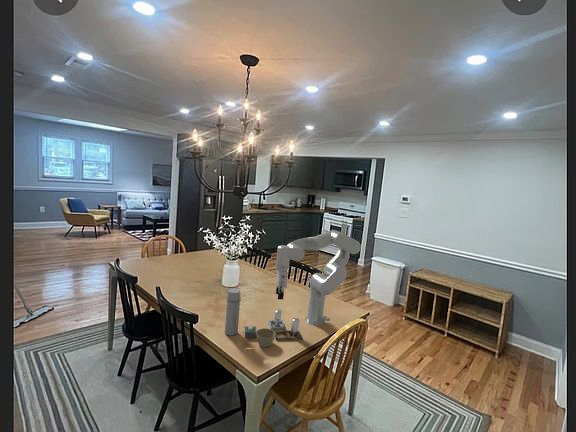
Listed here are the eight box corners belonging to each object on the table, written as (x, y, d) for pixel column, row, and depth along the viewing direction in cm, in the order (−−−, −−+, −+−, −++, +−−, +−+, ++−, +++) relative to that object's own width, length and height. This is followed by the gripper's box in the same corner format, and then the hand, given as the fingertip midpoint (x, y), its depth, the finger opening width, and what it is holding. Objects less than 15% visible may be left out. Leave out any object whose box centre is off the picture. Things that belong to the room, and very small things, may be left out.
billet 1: (279, 325, 184) (281, 309, 182) (280, 328, 180) (282, 312, 178) (272, 325, 183) (274, 309, 181) (273, 328, 179) (275, 312, 177)
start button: (253, 331, 171) (253, 326, 171) (253, 334, 169) (253, 329, 168) (247, 331, 171) (248, 326, 170) (247, 334, 168) (248, 329, 167)
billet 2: (296, 334, 174) (298, 317, 172) (298, 338, 170) (300, 321, 169) (289, 334, 173) (291, 317, 172) (291, 338, 169) (292, 321, 168)
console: (255, 333, 173) (255, 326, 173) (256, 338, 168) (256, 332, 167) (244, 333, 172) (245, 326, 172) (245, 339, 166) (245, 332, 166)
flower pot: (269, 353, 156) (270, 340, 155) (251, 347, 159) (252, 334, 158) (277, 343, 165) (278, 331, 164) (260, 338, 168) (261, 326, 167)
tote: (282, 324, 186) (282, 320, 186) (284, 331, 178) (284, 327, 178) (268, 324, 184) (269, 320, 184) (270, 331, 177) (270, 327, 176)
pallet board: (298, 334, 176) (299, 330, 176) (301, 341, 169) (301, 337, 169) (273, 335, 173) (274, 330, 173) (275, 342, 166) (276, 337, 166)
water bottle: (221, 331, 172) (224, 289, 168) (234, 328, 176) (237, 286, 173) (229, 339, 164) (232, 295, 161) (242, 335, 169) (245, 293, 165)
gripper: (291, 272, 168) (288, 303, 171) (286, 262, 185) (283, 290, 188) (278, 272, 167) (275, 303, 169) (273, 262, 183) (271, 290, 186)
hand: (279, 296), depth 178 cm, fingers open, 6 cm apart
